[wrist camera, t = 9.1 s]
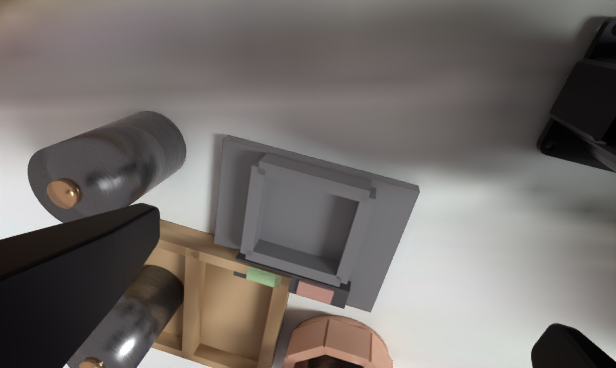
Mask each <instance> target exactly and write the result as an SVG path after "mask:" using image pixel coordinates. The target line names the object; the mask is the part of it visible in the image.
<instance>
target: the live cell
mask: <svg viewBox="0 0 616 368" xmlns="http://www.w3.org/2000/svg"><path fill="white" fill-rule="evenodd" d="M183 301H184V286H183V284H182V283H181V281H180V280H179V279H178V277H177V276H176V275H174V274H173V273H172V272H170V271H169V270H167V269H165V268H163V267H160V266H156V265H146V266H143V267H142V268H141V269H140V271H139V272H138V274H137V275H136V277H135V278H134V280H133V281H132V283H131V284H130V286H129V287H128V289H127V290H126V291H125V293H124V294H123V296H122V297H121V298H120V300H119V301H118V302H117V303H116V305H115V306H114V307H113V308H112V309H111V311H110V312H109V313H108V314H107V315H106V317H105V318H104V319H103V320H102V321H101V323H100V324H99V325H98V326H97V327H96V329H95V330H94V331H93V332H92V333H91V334H90V336H89V337H88V338H87V339H86V340H85V342H84V343H83V344H82V345H81V346H80V348H79V349H78V350H77V351H76V352H75V354H74V355H73V356H72V357H71V358H70V360H69V361H68V362H67V365H68V366H69V367H70V368H137V366H138V365H139V363H140V362H141V361H142V359H143V358H144V356H145V355H146V354H147V352H148V351H149V349H150V348H151V347H152V345H153V344H154V342H155V341H156V339H157V338H158V337H159V335H160V334H161V332H162V331H163V330H164V328H165V327H166V325H167V324H168V323H169V321H170V320H171V318H172V317H173V315H174V314H175V313H176V311H177V310H178V308H179V307H180V306H181V304H182V303H183Z"/></svg>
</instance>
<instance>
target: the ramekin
mask: <svg viewBox="0 0 616 368" xmlns="http://www.w3.org/2000/svg"><path fill="white" fill-rule="evenodd" d="M325 354H326V355H329V356H332V357H336V358H339V359H342V360H345V361H348V362H351V363H354V364H358V365H361V366H363V367H364V368H393V362H392V359H391V358H390V356H389V355H388V350H387V347H386V345H385V343H384V342H383V340H382V339H381V337H380V336H379V335H378V334H377V333H376V332H375V331H373V330H372V329H371V328H369V327H368V326H366V325H364V324H363V323H360V322H358V321H356V320H353V319H350V318H346V317H341V316H332V315H329V316H318V317H314V318H311V319H308V320H306V321H304V322H303V323H301V324H300V325H299V326H298V327H297V328H296V329H294V331H293V332H292V335H291V339H290V342H289V346H288V349H287V353H286V356H285V360H284V364H283V367H282V368H307V366H308V361H309V359H310V358H314V357H318V356H321V355H325Z"/></svg>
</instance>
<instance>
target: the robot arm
mask: <svg viewBox="0 0 616 368" xmlns="http://www.w3.org/2000/svg"><path fill="white" fill-rule="evenodd" d="M615 24H616V17H612V18H610V19H608V20H607V21H605V22H604V23H603V25H602V26H601V28H600V29H599V31H598V33H597V35H596V37H595V38H594V40H593V42H592V44H591V46H590V47H589V49H588V51H587V53H586V55H585V57H584V58H583V59H582V60H580V61H579V62H577V63H576V65H575V67H574V69H573V70H572V72H571V74H570V76H569V78H568V80H567V81H566V83H565V85H564V87H563V89H562V90H561V92H560V94H559V96H558V98H557V100H556V101H555V103H554V105H553V107H552V109H551V111H550V115H551V118H550V120H549V122H548V124H547V125H546V127H545V129H544V131H543V133H542V134H541V136H540V138H539V140H538V142H537V148H538V150H539V151H540V152H541V153H543V154H545V155H548V156H552V157H556V158H560V159H564V160H568V161H572V162H576V163H580V164H584V165H588V166H592V167H596V168H600V169H604V170H608V171H612V172H616V34H614V35H613V34H612V33H611V30H612V27H613V26H614V25H615ZM550 141H553V145H552V146H551V147H550V148H545V146H546V144H547V143H548V142H550ZM159 238H160V212H159V209H158V208H157V207H155V206H151V205H148V204H144V203H138V204H134V205H131V206H127V207H123V208H119V209H115V210H112V211H108V212H104V213H100V214H96V215H93V216H89V217H85V218H81V219H77V220H73V221H70V222H66V223H62V224H58V225H54V226H51V227H47V228H43V229H39V230H35V231H32V232H28V233H24V234H20V235H16V236H12V237H9V238H5V239H1V240H0V368H63V367H64V366H65V364H66V363H67V362H68V361H69V360H70V358H71V357H72V356H73V355H74V354H75V352H76V351H77V350H78V349H79V348H80V346H81V345H82V344H83V343H84V342H85V340H86V339H87V338H88V337H89V336H90V334H91V333H92V332H93V331H94V330H95V329H96V327H97V326H98V325H99V324H100V323H101V321H102V320H103V319H104V318H105V317H106V315H107V314H108V313H109V312H110V311H111V309H112V308H113V307H114V306H115V305H116V303H117V302H118V301H119V300H120V298H121V297H122V296H123V294H124V293H125V291H126V290H127V289H128V287H129V286H130V284H131V283H132V281H133V280H134V278H135V277H136V275H137V274H138V272H139V271H140V269H141V268H142V266H143V265H144V263H145V262H146V260H147V259H148V258H149V256H150V255H151V253H152V252H153V250H154V249H155V247H156V246H157V244H158V242H159ZM531 360H532V366H533V368H616V362H615V361H614V360H613V359H612V358H611V357H610V356H608V355H607V354H606V353H605V352H604V351H602V350H601V349H600V348H599V347H598V346H596V345H595V344H594V343H593V342H592V341H591V340H589V339H588V338H587V337H586V336H585V335H583V334H582V333H581V332H580V331H579V330H577V329H575V328H572V327H569V326H566V325H562V324H559V323H553V324H551V325H550V326H549V327H548V328H547V329H546V330H545V332H544V333H543V334H542V336H541V337H540V338H539V340H538V341H537V342H536V343H535V345H534V346H533V348H532V352H531Z"/></svg>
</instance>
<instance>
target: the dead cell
mask: <svg viewBox="0 0 616 368" xmlns="http://www.w3.org/2000/svg"><path fill="white" fill-rule="evenodd" d="M307 368H364V367H363V366H361V365H358V364H354V363H351V362H348V361H345V360H342V359H339V358H336V357H332V356H329V355H326V354H325V355H321V356H318V357H314V358H310V359H309V361H308V366H307Z"/></svg>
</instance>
